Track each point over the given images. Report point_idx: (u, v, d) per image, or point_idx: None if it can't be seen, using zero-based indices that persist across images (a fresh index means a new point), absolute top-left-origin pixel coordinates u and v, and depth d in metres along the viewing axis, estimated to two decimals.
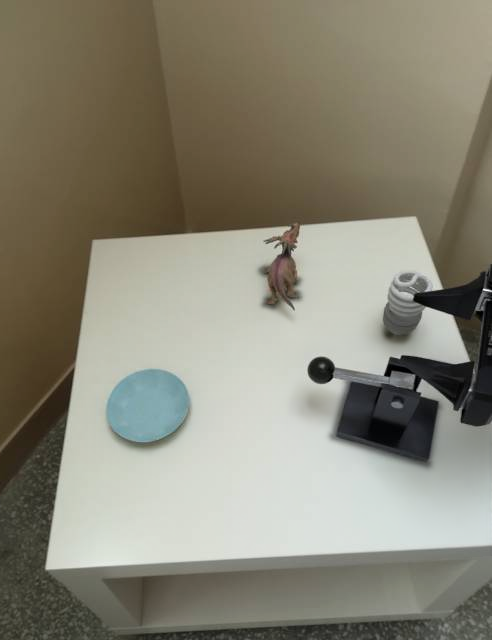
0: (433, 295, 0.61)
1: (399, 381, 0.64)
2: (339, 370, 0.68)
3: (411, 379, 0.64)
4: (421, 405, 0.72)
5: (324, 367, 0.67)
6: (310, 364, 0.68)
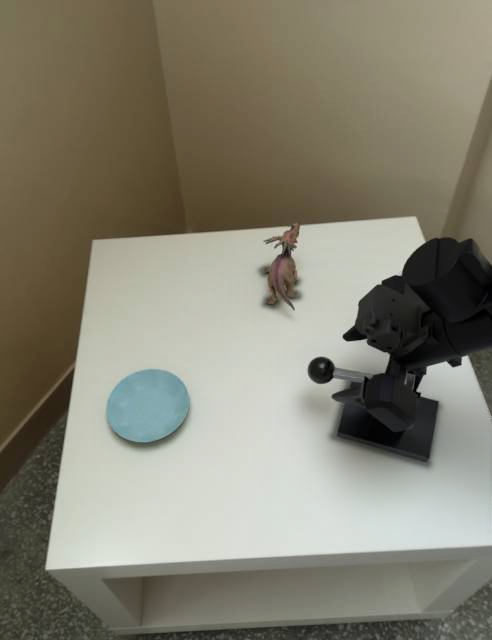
0: (353, 330, 0.68)
1: None
2: (339, 370, 0.68)
3: (411, 379, 0.64)
4: (421, 405, 0.72)
5: (324, 367, 0.67)
6: (310, 364, 0.68)
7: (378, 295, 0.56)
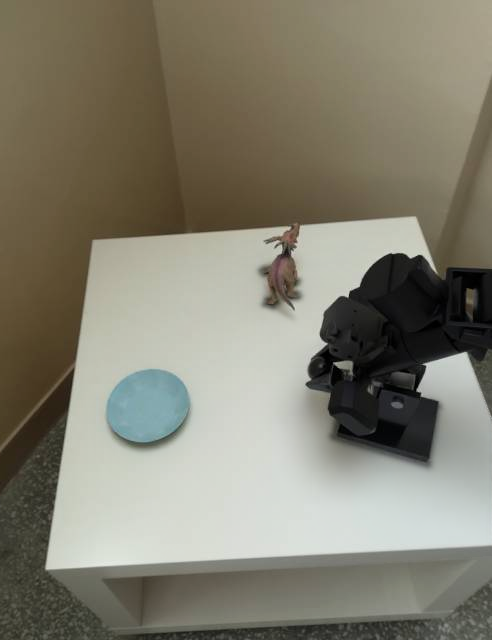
0: (320, 354, 0.69)
1: (399, 381, 0.64)
2: None
3: (411, 379, 0.64)
4: (421, 405, 0.72)
5: (324, 367, 0.67)
6: (310, 364, 0.68)
7: (340, 306, 0.59)
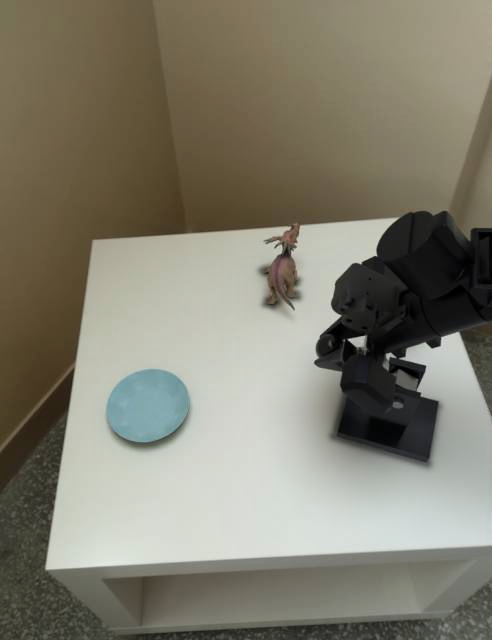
0: (329, 330, 0.64)
1: (405, 383, 0.64)
2: None
3: (414, 383, 0.64)
4: (421, 405, 0.72)
5: (340, 348, 0.63)
6: (324, 340, 0.63)
7: (354, 274, 0.54)
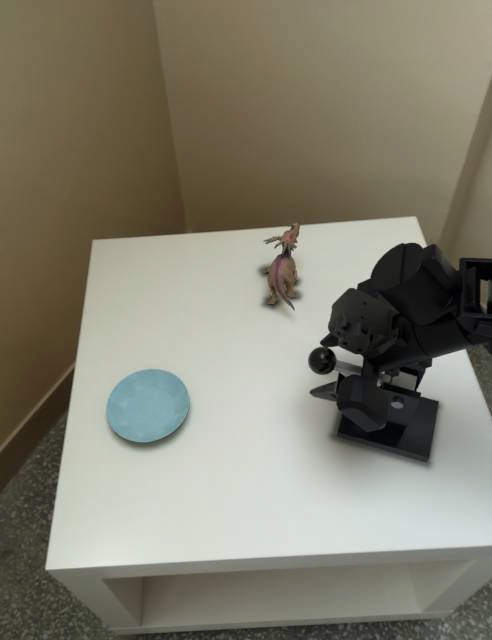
0: (329, 336, 0.69)
1: (402, 382, 0.64)
2: (341, 363, 0.66)
3: (413, 381, 0.64)
4: (421, 405, 0.72)
5: (328, 358, 0.65)
6: (313, 353, 0.66)
7: (350, 298, 0.57)
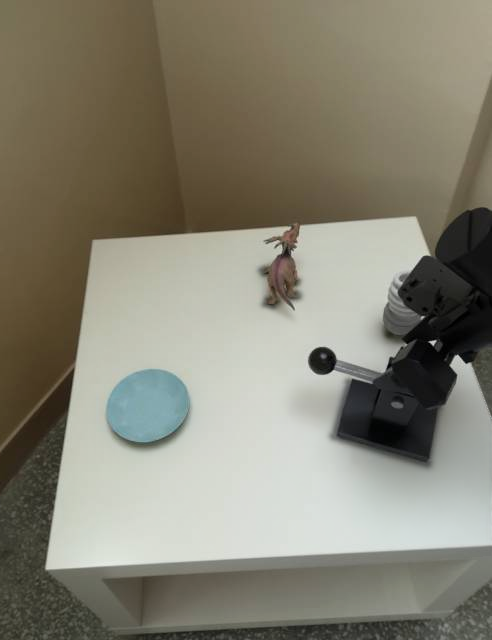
0: (412, 329, 0.65)
1: None
2: (341, 363, 0.66)
3: None
4: (421, 405, 0.72)
5: (328, 358, 0.65)
6: (313, 353, 0.66)
7: (424, 262, 0.55)
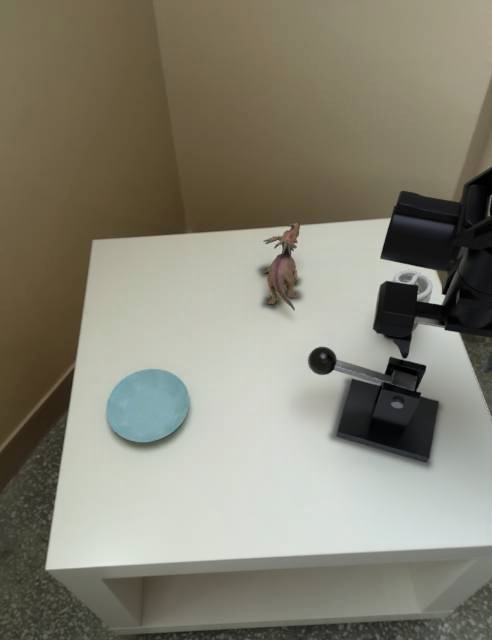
0: (490, 353, 0.61)
1: (402, 382, 0.64)
2: (341, 363, 0.66)
3: (413, 381, 0.64)
4: (421, 405, 0.72)
5: (328, 358, 0.65)
6: (313, 353, 0.66)
7: None
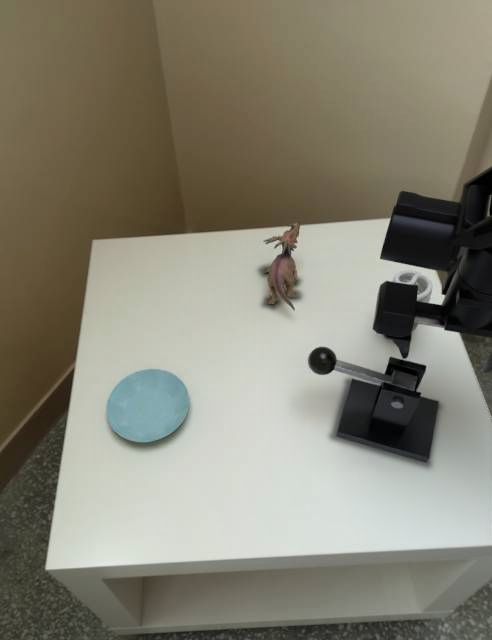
0: (490, 353, 0.61)
1: (402, 382, 0.64)
2: (341, 363, 0.66)
3: (413, 381, 0.64)
4: (421, 405, 0.72)
5: (328, 358, 0.65)
6: (313, 353, 0.66)
7: None
